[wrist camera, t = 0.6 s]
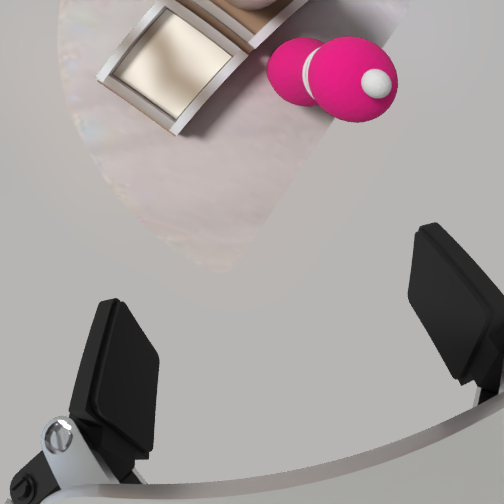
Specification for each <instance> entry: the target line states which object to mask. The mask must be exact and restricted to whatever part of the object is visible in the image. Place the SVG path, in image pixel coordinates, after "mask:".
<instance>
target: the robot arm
mask: <svg viewBox="0 0 504 504" xmlns="http://www.w3.org/2000/svg"><path fill="white" fill-rule="evenodd" d="M408 299H409V302H410V304H411V306H412V307H413V309H414V311H415V312H416V314H417V316H418V317H419V319H420V321H421V322H422V324H423V326H424V327H425V329H426V331H427V332H428V334H429V336H430V337H431V339H432V341H433V343H434V344H435V346H436V348H437V350H438V352H439V353H440V355H441V357H442V359H443V361H444V362H445V364H446V366H447V368H448V370H449V372H450V373H451V375H452V377H453V378H454V379H458V380H459V382H460V384H461V386H462V385H464V384H466V383H468V382H470V381H472V380H474V381H475V382H476V384H477V391H476V395H475V400H474V404H473V408H472V409H470V410H468V411H466V412H464V413H462V414H459V415H457V416H455V417H453V418H451V419H449V420H447V421H445V422H442V423H440V424H438V425H436V426H433V427H431V428H429V429H426V430H424V431H422V432H419V433H417V434H414V435H412V436H409V437H407V438H404V439H401V440H399V441H396V442H393V443H390V444H388V445H385V446H382V447H379V448H376V449H373V450H370V451H367V452H363V453H360V454H357V455H353V456H351V457H347V458H343V459H339V460H336V461H332V462H328V463H324V464H320V465H316V466H311V467H307V468H302V469H298V470H293V471H288V472H282V473H277V474H271V475H265V476H259V477H252V478H245V479H237V480H227V481H217V482H205V483H187V484H150V485H149V484H147V482H146V481H145V480H144V479H143V477H142V476H141V475H140V474H139V472H138V471H137V470H136V469H135V467H134V465H135V460H138V459H139V460H140V459H142V460H143V459H149V452H150V451H152V449H153V443H154V424H155V410H156V395H157V384H158V372H159V356H158V354H157V352H156V350H155V349H154V347H153V346H152V344H151V343H150V341H149V340H148V338H147V337H146V335H145V334H144V332H143V331H142V329H141V328H140V326H139V325H138V323H137V321H136V320H135V318H134V317H133V315H132V313H131V312H130V310H129V309H128V307H127V305H126V304H125V303H124V302H120V300H118V299H117V298H114V299H110V300H105V301H101V302H100V303H99V305H98V308H97V311H96V314H95V317H94V320H93V323H92V326H91V329H90V333H89V336H88V339H87V343H86V346H85V349H84V353H83V356H82V360H81V363H80V367H79V371H78V374H77V378H76V382H75V386H74V390H73V394H72V398H71V402H70V407H69V412H70V415H69V418H68V417H66V416H59V417H55V418H54V419H52V420H51V421H50V422H49V423H48V424H47V425H46V426H45V428H44V430H43V432H42V435H41V446H42V451H41V452H40V453H39V454H38V455H36V456H35V457H34V458H33V459H32V460H31V461H30V462H29V463H28V464H27V465H26V466H24V467H23V468H22V469H21V470H20V471H19V472H18V473H17V474H16V475H15V476H14V477H13V480H12V482H11V485H10V495H11V498H12V500H10V499H7V501H6V503H5V504H504V295H503V294H502V293H501V291H500V290H499V289H498V288H497V287H496V285H495V284H494V283H493V282H492V281H491V280H490V278H489V277H488V276H487V275H486V274H485V272H483V270H482V269H481V268H480V267H479V266H478V265H477V264H476V262H475V261H474V260H473V259H472V258H471V257H470V256H469V255H468V254H467V253H466V251H465V250H464V249H463V248H462V247H461V246H460V245H459V244H458V243H457V242H456V241H455V240H454V239H453V238H452V237H451V236H450V235H449V234H448V233H447V232H446V231H445V230H444V229H443V228H442V227H441V226H440V225H439V224H438V223H431V224H426V225H423V226H420V228H419V231H418V232H416V233H415V239H414V249H413V258H412V266H411V274H410V282H409V288H408Z"/></svg>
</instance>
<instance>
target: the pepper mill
mask: <svg viewBox="0 0 504 504" xmlns="http://www.w3.org/2000/svg"><path fill="white" fill-rule="evenodd" d="M267 77H268V79H269V81H270V83H271V85H272V87H273V88H274V90H275V91H276V92H277V94H278V95H279V96H281V97H282V98H283V99H284V100H286V101H288V102H290V103H292V104H295V105H300V106H310V107H311V106H316V105H320V107H321V108H322V109H323V110H325V111H326V112H327V113H329V114H330V115H331V116H334V117H336V118H338V119H340V120H344V121H348V122H357V123H358V122H365V121H369V120H372V119H375V118H377V117H379V116H380V115H382V114H383V113H384V112H385V111H386V110H387V109H388V108H389V107H390V105H391V104H392V102H393V101H394V99H395V96H396V93H397V88H398V79H397V73H396V69H395V67H394V65H393V63H392V61H391V59H390V58H389V56H388V55H387V54H386V53H385V52H384V51H383V50H382V49H381V48H380V47H379V46H377V45H376V44H374V43H373V42H370V41H368V40H366V39H363V38H358V37H349V36H346V37H339V38H336V39H333V40H330V41H328V42H327V43H323V42H321V41H319V40H316V39H312V38H295V39H291V40H289V41H286V42H285V43H283V44H281V45H280V46H279V47H278V48H277V49H276V50H275V52H274V53H273V54H272V55H271V57H270V58H269V60H268V63H267Z"/></svg>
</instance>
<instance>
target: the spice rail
mask: <svg viewBox="0 0 504 504" xmlns="http://www.w3.org/2000/svg"><path fill="white" fill-rule="evenodd" d="M307 1H308V0H276V1H275V2H274V3H273V4H271V5H270V6H268V7H266V8H263V9H260V10H253V11H248V10H241V9H238V8H235V7H233V6H231V5H230V4H228V3H227V2H226V1H225V0H158V1H157V2H156V3H155V4H154V5H153V6H152V7H151V8H150V9H149V10H148V12H147V13H146V14H145V15H144V16H143V17H142V18H141V20H140V21H139V22H138V23H137V24H136V25H135V27H134V28H133V29H132V30H131V31H130V33H129V34H128V35H127V36H126V37H125V39H124V40H123V41H122V42H121V44H120V45H119V46H118V48H117V49H116V50H115V51H114V53H113V54H112V55H111V57H110V58H109V59H108V61H107V62H106V64H105V65H104V66H103V68H102V69H101V71H100V72H99V73H98V75H97V76H96V79H98V82H99V83H101V84H102V85H104V86H105V87H107V88H108V89H110V90H111V91H113V92H114V93H115V94H117V95H118V96H120V97H121V98H123V99H124V100H125V101H127V102H128V103H130V104H131V105H132V106H134V107H135V108H137V109H138V110H139V111H141V112H142V113H144V114H145V115H146V116H148V117H149V118H151V119H152V120H153V121H155V122H156V123H157V124H159V125H160V126H162V127H163V128H164V129H166V130H167V131H168V132H170V133H171V134H172V135H174V136H177V135H178V134H179V132H180V131H181V130H182V129H183V127H184V126H185V125H186V124H187V123H188V121H189V120H190V119H191V118H192V117H193V116H194V114H195V113H196V112H197V111H198V110H199V109H200V107H201V106H202V105H203V104H204V103H205V102H206V101H207V99H208V98H209V97H210V96H211V95H212V94H213V93H214V92H215V91H216V89H217V88H218V87H219V86H220V85H221V84H222V83H223V82H224V81H225V80H226V79H227V77H228V76H229V75H230V74H231V73H232V72H233V71H234V70H235V69H236V68H237V67H238V66H239V65H240V64H241V63H242V62H243V61H244V60H245V59H246V58H247V57H248V54H249V53H250V52H251V51H252V50H253V49H256V48H257V47H258V46H259V45H260V44H261V43H262V42H263V41H264V40H265V39H266V38H267V37H268V36H269V35H270V34H271V33H272V32H274V31H275V30H276V29H277V28H278V27H279V26H280V25H281V24H282V23H283V22H284V21H285V20H287V19H288V18H289V17H290V16H291V15H292V14H293V13H294V12H296V11H297V10H298V9H299V8H300V7H301V6H303V5H304V4H305V3H306V2H307Z"/></svg>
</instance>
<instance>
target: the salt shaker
mask: <svg viewBox="0 0 504 504" xmlns="http://www.w3.org/2000/svg"><path fill="white" fill-rule="evenodd" d="M225 1H226V2H227V3H228V4H230V5H231V6H233V7H235V8H238V9H241V10H248V11H253V10H260V9H263V8H266V7H268V6H270V5H271V4H273V3H274V2H275V1H276V0H225Z"/></svg>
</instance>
